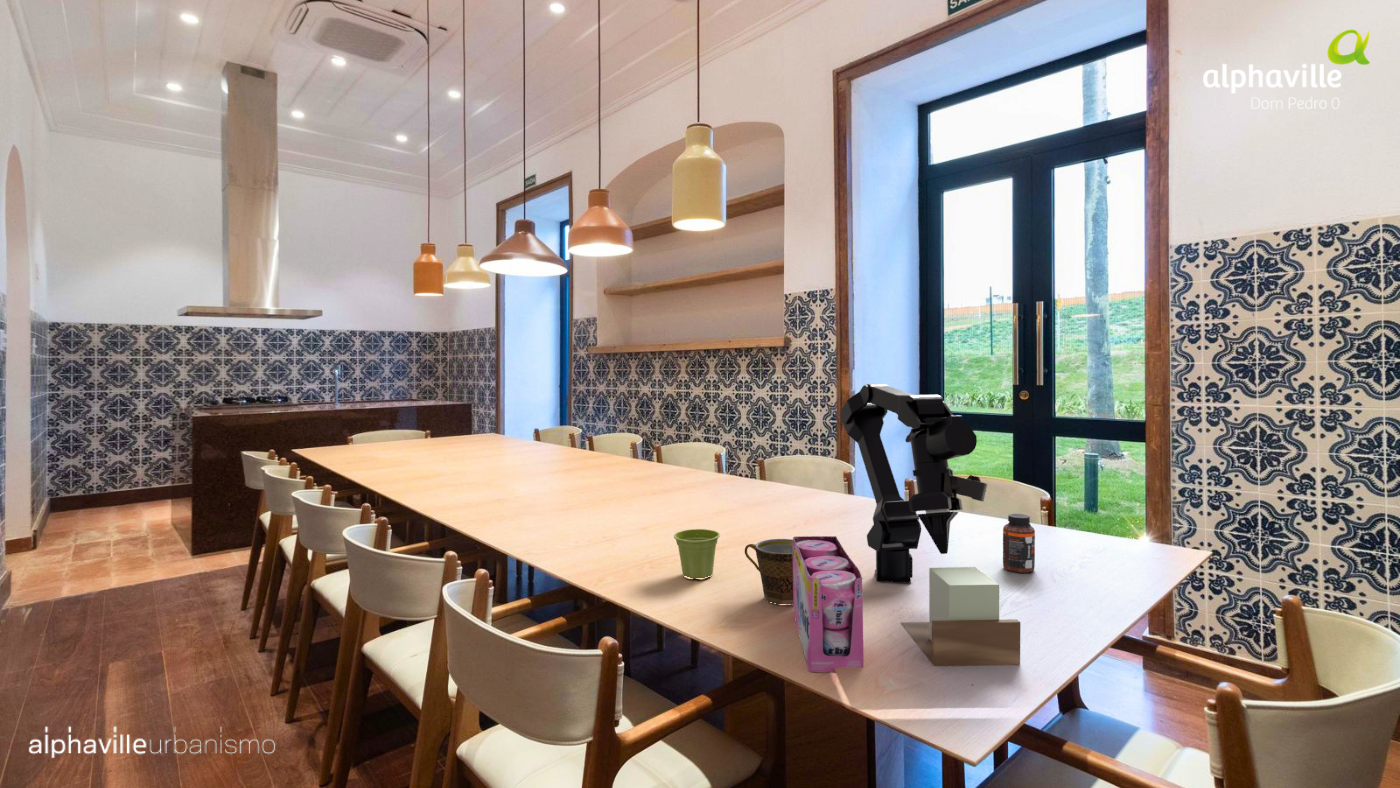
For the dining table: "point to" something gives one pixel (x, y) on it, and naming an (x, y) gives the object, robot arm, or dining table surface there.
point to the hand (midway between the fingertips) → (944, 553)
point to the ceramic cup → (775, 569)
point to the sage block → (961, 595)
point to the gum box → (827, 603)
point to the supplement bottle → (1019, 544)
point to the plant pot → (697, 551)
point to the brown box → (968, 641)
